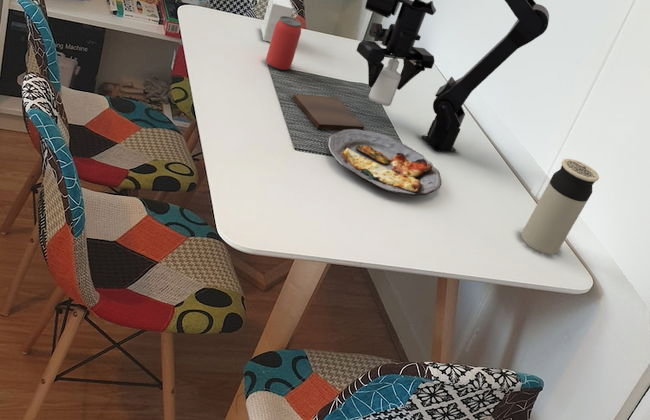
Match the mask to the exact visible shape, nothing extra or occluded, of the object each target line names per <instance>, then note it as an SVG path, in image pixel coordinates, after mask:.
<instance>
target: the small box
mask: <svg viewBox="0 0 650 420" xmlns="http://www.w3.org/2000/svg"><path fill="white" fill-rule="evenodd" d="M293 10H294V9H293V6H292V2H291V0H268V3H267V6H266V10H265V13H264V18H263V21H262V26H261V29H260V31H261V35H262V40H263V41H265V42H269V43H271V40H272V36H273V33H274V29H275V25H276V23H277V22H278V20H279V19H280V17H281V16H287V17H291V16H292V12H293ZM291 18H292V17H291Z"/></svg>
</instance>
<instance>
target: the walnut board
mask: <svg viewBox="0 0 650 420" xmlns="http://www.w3.org/2000/svg"><path fill="white" fill-rule="evenodd" d="M292 99H293V101H294V102H295V103H296V104H297V105H298V107H299V108H300V109H301V110H302V111H303V113H304V114H305V115H306V116H307V118H309V119H310V121H311V122H312V123H313V125H314V126H315V127H316V128H317V129H318V130H335V131H336V130H337V131H343V129H344V130H348V129H351V130H352V129H355V130H356V129H358V130H363V131H364V128H365V126H364V124H362V122H360V120H359V119H358V118H357V117H356V115H354V114H353V113H352V111H351V110H349V108H348V107H347V106H346V105H345V104H344V103H343V102H342V101H341V100H340V99H339V97H337V96H325V95H311V94H302V93H301V94H299V93H293V96H292Z"/></svg>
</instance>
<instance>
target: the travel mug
mask: <svg viewBox="0 0 650 420" xmlns="http://www.w3.org/2000/svg"><path fill="white" fill-rule="evenodd" d="M599 176H600V175H599V174H598V172H597V171H596V170H595V169H593V168H592V167H591V166H590V165H588V164H585V163H583V162H581V161H579V160H576V159H572V158H564V159H562V161H561V166H560V169H559V170H557V171H555V172H554V173H553V174H552V176H551V178H550V180H549V182H548V184H546V185H547V186H546V187H545V189H544V191H543V192H542V194H541V196H540V198H539V200H538V202H537V204H536V206H535V208H534V209H533V211H532V213H531V214H530V216H529V218H528V220H527V221H526V224H525V226H524V227H523V229H522V231H521V234H520V235H521V238H522V240H523V241H524V242H525V244H527V246H529V247H530V248H532V249H533V250H535V251H537V252H540V253H542V254H547V255H555V254H557V253H558V252H559V250H560V249H561V247H562V245H563V244H564V242H565V240H566V239H567V237H568V235H569V233H570V231H571V230H572V228H573V227H574V225H575V224H576V221H577V220H578V218H579V216H580V215H581V213H582V212H583V210H584V208H585V206H586V204H587V202H588V201H589V200H590V197H591V196H592V194H593V185H594V184H595V183H596V182H597V181H599V179H600V177H599Z"/></svg>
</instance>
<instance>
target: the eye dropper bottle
mask: <svg viewBox="0 0 650 420" xmlns="http://www.w3.org/2000/svg"><path fill="white" fill-rule="evenodd" d="M399 65H400V61H399V59H397V58H389V59H388V62H387V65H386V66H384V67H383V69H382V71H381V73H380V74H379V76H378V78H377V80H376V82H375V84H374V85H373V87H370V92H369V93H368V99H369V100H370V101H372V102H374V103H376V104H378V105H382V106H386V107H390V106H391V104H392V102H393V100H394V98H395V94H396V91H398V89H397V87H398V84H399V82H400V79H401V75H400V74H401V73H399V72H398V71H397V70H398V68H399Z"/></svg>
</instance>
